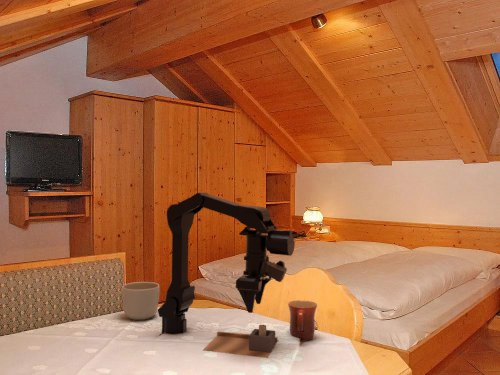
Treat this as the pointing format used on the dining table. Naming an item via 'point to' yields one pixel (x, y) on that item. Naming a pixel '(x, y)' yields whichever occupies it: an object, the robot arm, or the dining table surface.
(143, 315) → the planter
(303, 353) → the dining table surface
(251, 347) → the gray square frame
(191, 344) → the dining table surface
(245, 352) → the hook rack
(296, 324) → the mug
